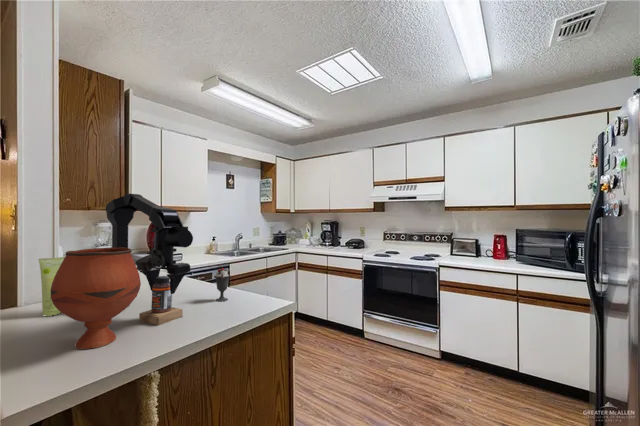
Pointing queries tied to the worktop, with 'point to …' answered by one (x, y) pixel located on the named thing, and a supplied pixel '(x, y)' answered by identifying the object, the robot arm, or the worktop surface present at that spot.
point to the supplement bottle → (161, 295)
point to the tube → (49, 283)
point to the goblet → (95, 290)
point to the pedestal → (160, 316)
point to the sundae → (222, 282)
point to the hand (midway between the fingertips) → (162, 292)
